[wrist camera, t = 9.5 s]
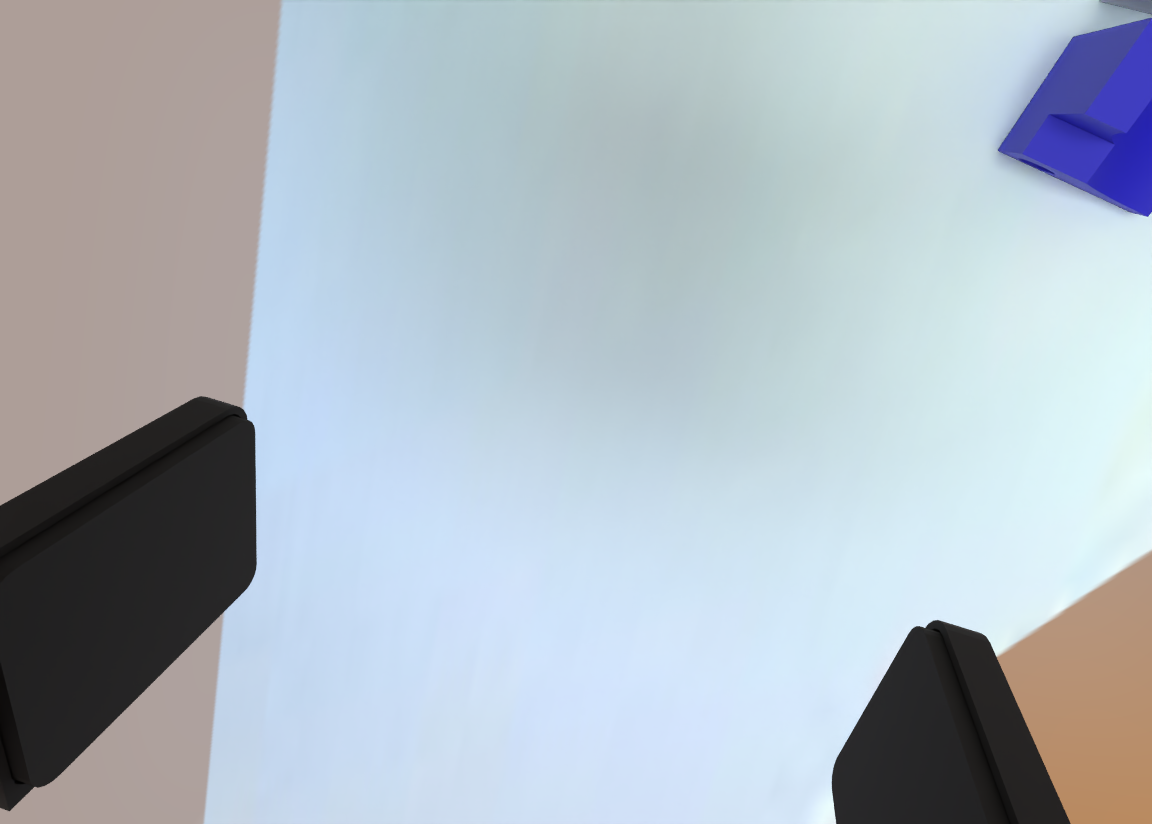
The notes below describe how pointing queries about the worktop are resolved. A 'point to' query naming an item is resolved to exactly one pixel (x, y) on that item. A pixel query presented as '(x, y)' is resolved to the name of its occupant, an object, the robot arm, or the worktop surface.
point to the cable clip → (1095, 118)
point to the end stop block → (1132, 4)
